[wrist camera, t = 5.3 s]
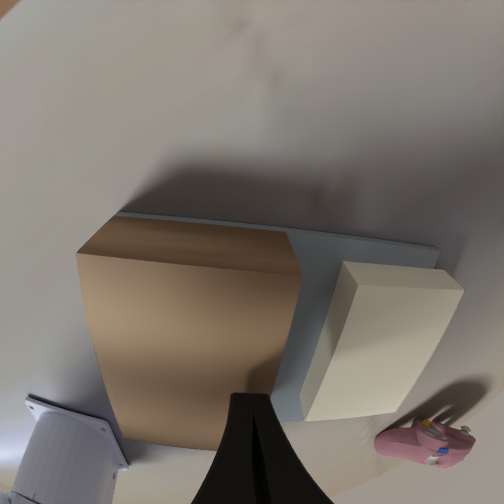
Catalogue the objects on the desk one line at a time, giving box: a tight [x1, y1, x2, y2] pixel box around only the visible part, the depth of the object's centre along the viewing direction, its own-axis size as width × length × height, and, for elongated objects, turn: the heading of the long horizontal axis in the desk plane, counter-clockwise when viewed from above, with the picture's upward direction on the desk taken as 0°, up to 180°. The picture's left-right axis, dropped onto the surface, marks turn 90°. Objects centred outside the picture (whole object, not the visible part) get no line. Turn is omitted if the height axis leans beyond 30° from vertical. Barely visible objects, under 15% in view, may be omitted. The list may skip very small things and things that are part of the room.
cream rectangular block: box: [300, 261, 465, 421], centre depth 14 cm, size 9×6×2 cm, turn 173°
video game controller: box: [374, 419, 476, 468], centre depth 19 cm, size 10×5×7 cm, turn 60°
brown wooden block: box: [76, 216, 303, 451], centre depth 13 cm, size 11×7×4 cm, turn 173°
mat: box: [114, 212, 441, 421], centre depth 15 cm, size 13×15×1 cm
